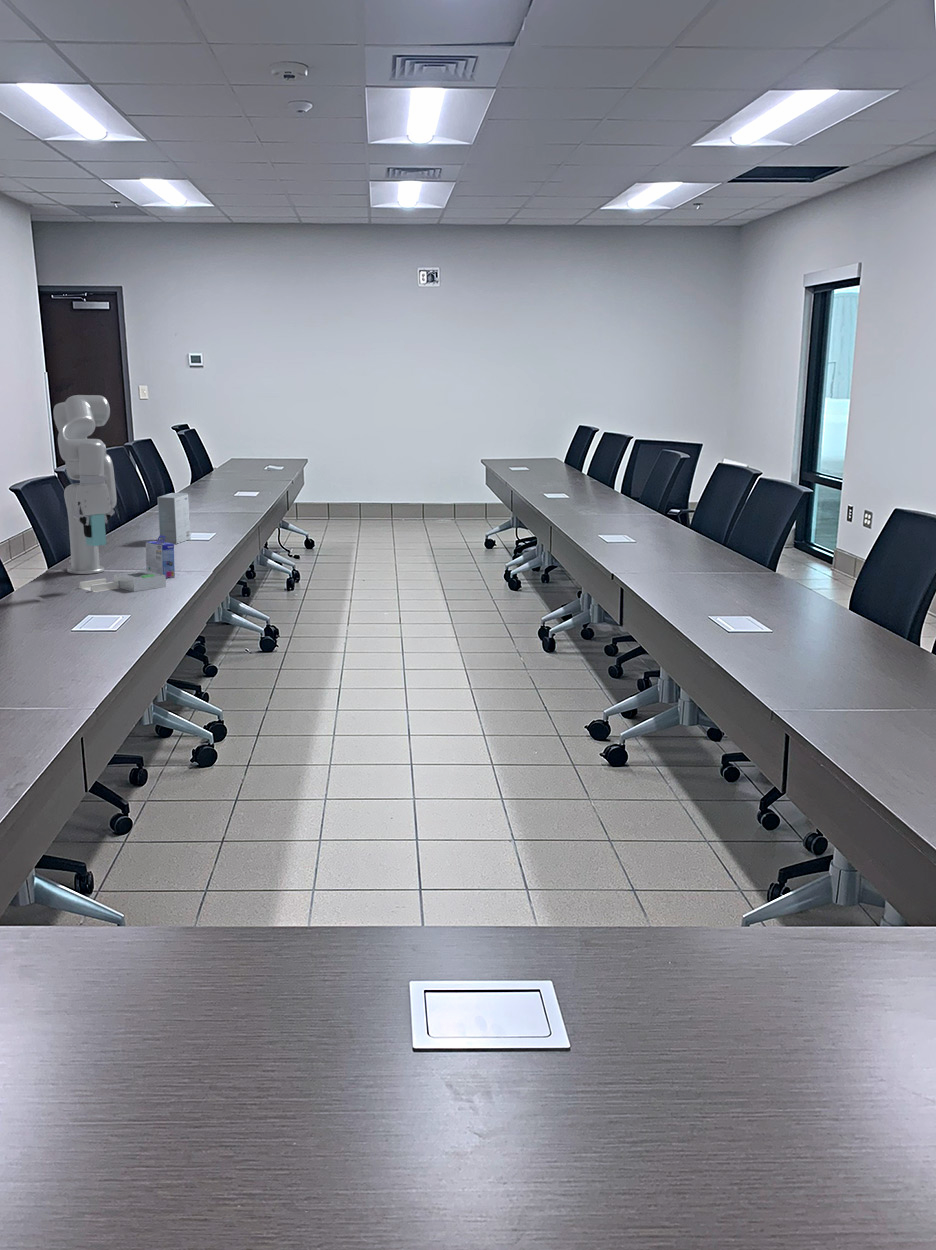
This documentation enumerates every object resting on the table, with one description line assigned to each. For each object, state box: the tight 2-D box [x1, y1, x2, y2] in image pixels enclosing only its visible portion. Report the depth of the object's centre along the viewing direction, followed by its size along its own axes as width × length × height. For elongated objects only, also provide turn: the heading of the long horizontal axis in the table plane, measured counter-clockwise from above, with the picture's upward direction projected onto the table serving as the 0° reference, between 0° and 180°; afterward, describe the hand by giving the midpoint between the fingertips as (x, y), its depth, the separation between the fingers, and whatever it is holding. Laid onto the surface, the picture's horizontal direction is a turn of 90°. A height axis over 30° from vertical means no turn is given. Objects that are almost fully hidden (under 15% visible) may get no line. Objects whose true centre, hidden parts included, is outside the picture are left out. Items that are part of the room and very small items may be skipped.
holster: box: [78, 578, 120, 593], centre depth 346 cm, size 10×9×3 cm
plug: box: [86, 514, 107, 547], centre depth 342 cm, size 4×4×11 cm
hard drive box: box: [157, 492, 192, 545], centre depth 447 cm, size 16×8×20 cm, turn 172°
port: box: [113, 569, 167, 592], centre depth 350 cm, size 12×12×6 cm
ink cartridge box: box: [145, 534, 176, 579], centre depth 371 cm, size 10×6×14 cm, turn 53°
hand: (95, 535), depth 343 cm, fingers closed on plug, 4 cm apart
